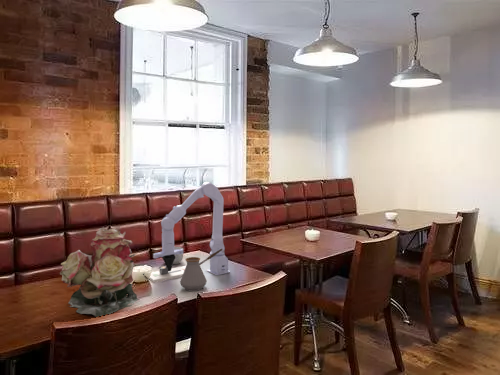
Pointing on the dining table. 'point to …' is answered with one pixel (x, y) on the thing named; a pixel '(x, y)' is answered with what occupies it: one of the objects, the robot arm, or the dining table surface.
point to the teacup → (178, 256)
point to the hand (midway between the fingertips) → (169, 270)
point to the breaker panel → (171, 274)
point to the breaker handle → (163, 270)
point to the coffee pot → (194, 274)
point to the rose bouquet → (101, 275)
